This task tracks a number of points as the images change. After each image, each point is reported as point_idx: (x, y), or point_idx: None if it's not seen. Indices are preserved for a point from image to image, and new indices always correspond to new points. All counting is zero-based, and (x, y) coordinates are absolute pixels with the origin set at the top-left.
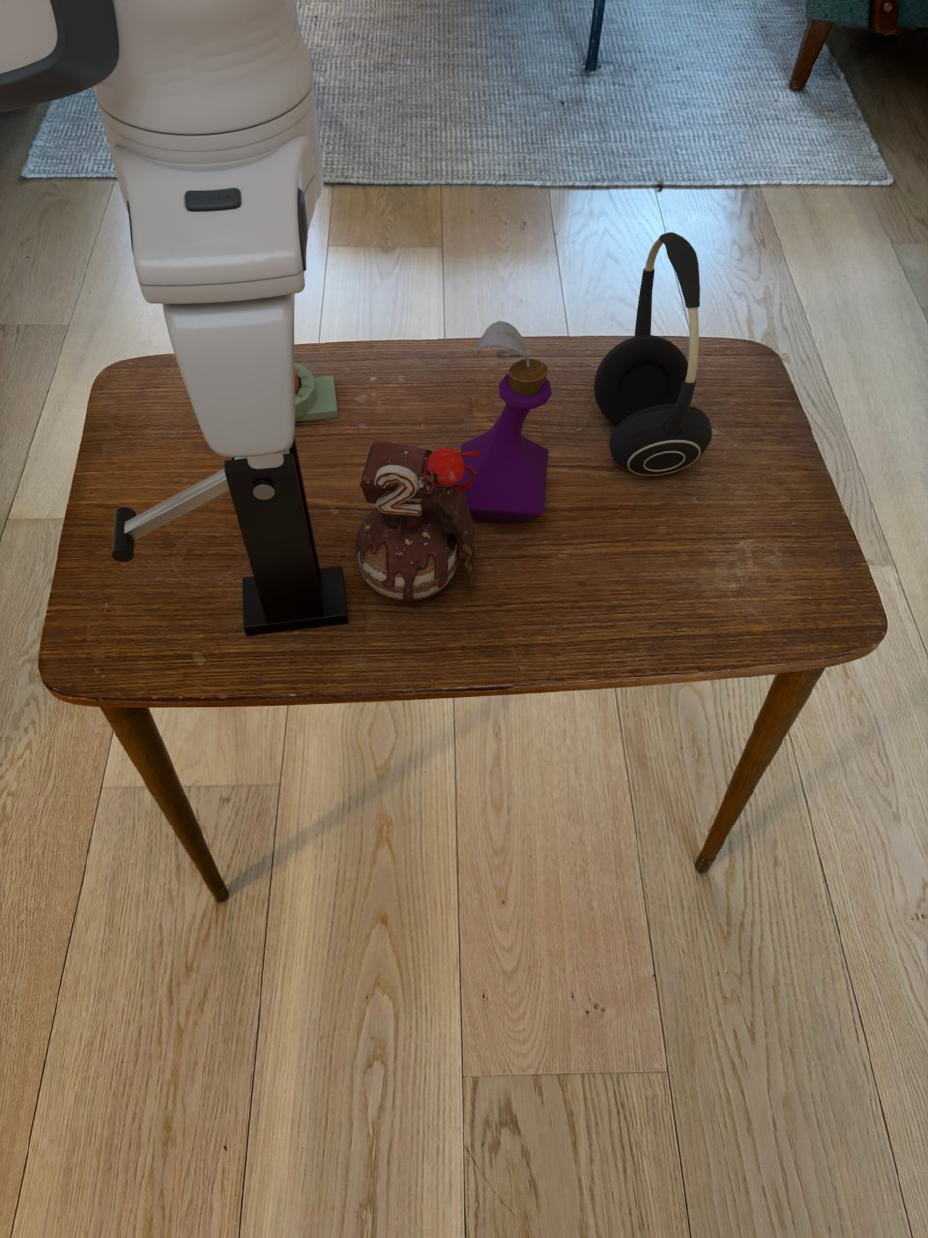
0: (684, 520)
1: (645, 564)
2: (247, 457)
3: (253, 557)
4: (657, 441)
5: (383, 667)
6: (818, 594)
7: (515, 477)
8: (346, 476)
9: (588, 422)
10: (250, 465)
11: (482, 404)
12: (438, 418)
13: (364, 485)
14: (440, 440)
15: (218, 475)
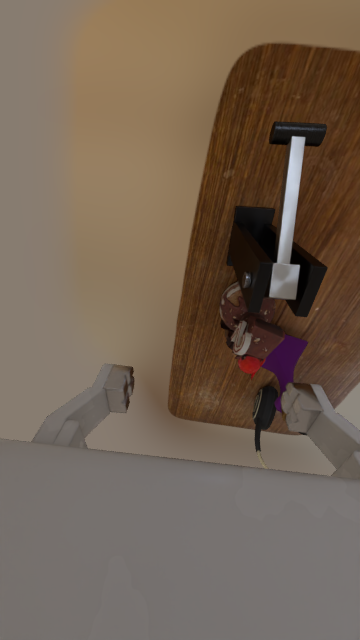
0: (234, 391)
1: (218, 375)
2: (99, 372)
3: (242, 239)
4: (257, 411)
5: (196, 274)
6: (190, 410)
7: (264, 362)
8: (329, 277)
9: (302, 380)
10: (104, 364)
11: (341, 348)
12: (344, 328)
13: (253, 323)
14: (327, 326)
15: (287, 242)
